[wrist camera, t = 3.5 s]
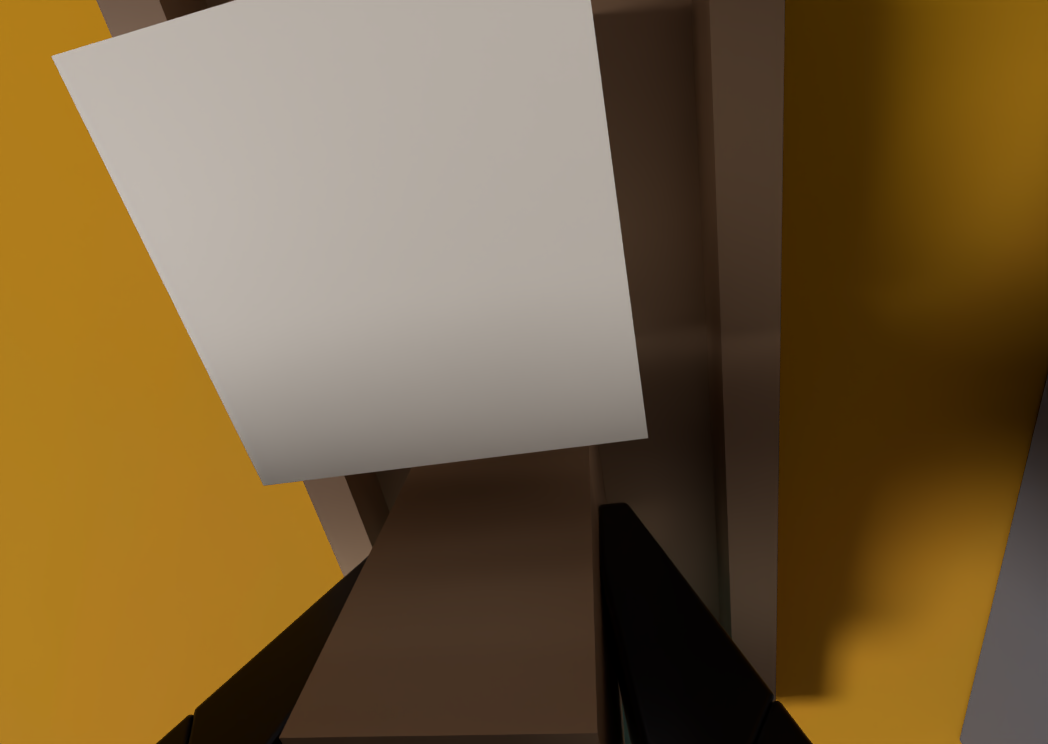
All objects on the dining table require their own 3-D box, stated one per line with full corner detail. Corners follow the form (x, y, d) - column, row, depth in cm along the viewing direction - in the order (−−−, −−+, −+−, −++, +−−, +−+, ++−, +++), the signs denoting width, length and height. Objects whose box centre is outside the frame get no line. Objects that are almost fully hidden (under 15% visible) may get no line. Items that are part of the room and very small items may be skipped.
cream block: (619, 305, 8) (648, 437, 5) (388, 343, 9) (263, 485, 6) (578, 16, 7) (578, -105, 3) (303, 89, 8) (49, 55, 4)
